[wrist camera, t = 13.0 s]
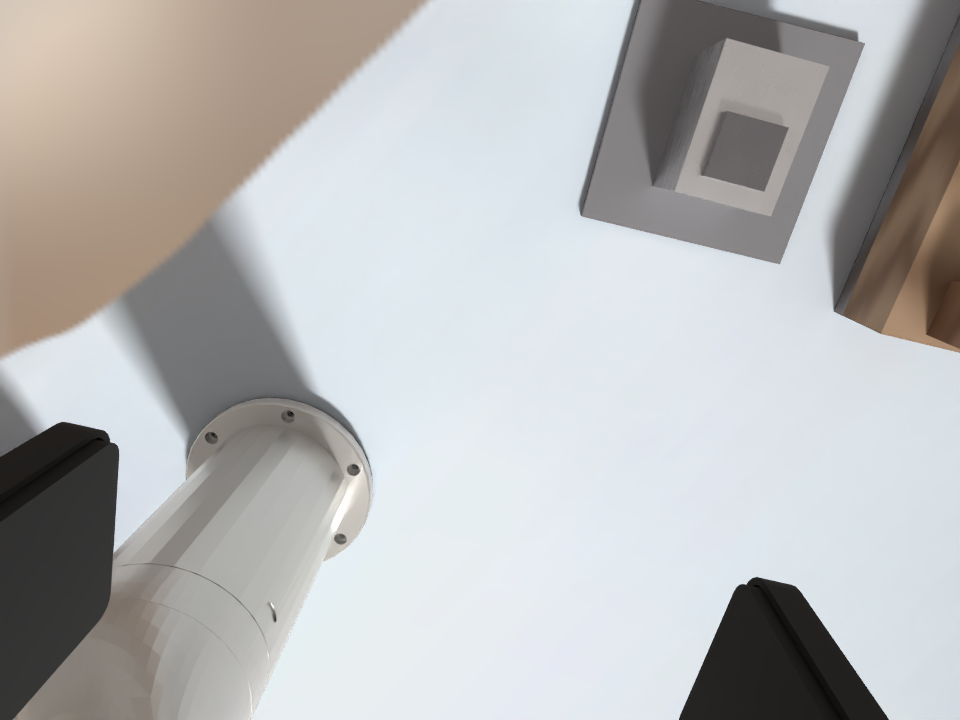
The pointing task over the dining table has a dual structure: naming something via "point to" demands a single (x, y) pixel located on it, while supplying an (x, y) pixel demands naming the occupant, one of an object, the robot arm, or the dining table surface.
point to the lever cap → (739, 125)
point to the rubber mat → (652, 108)
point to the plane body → (917, 228)
